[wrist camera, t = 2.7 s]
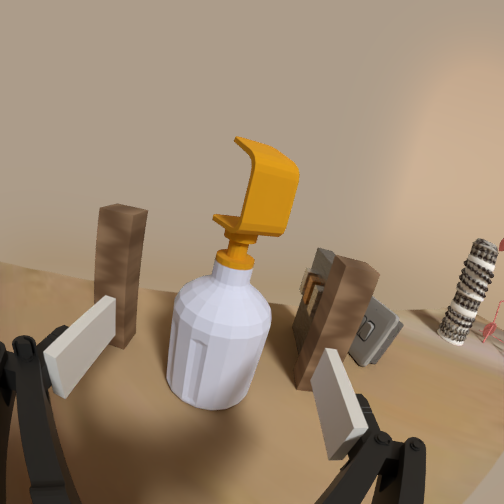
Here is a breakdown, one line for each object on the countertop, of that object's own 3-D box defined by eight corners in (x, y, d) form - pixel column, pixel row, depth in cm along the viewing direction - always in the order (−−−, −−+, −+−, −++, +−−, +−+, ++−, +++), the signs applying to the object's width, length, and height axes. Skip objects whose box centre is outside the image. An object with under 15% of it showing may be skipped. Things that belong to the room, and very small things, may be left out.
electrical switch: (333, 336, 45) (357, 289, 43) (355, 339, 46) (378, 294, 44) (360, 369, 36) (390, 316, 34) (382, 369, 38) (411, 320, 36)
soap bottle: (224, 350, 34) (275, 150, 27) (262, 400, 27) (343, 163, 20) (156, 359, 29) (192, 128, 22) (184, 420, 22) (245, 126, 15)
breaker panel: (293, 366, 34) (329, 269, 31) (285, 324, 46) (310, 245, 42) (318, 369, 35) (356, 276, 31) (305, 328, 46) (331, 251, 42)
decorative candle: (432, 333, 53) (470, 233, 47) (439, 325, 59) (473, 236, 53) (461, 350, 46) (503, 247, 40) (466, 340, 52) (502, 249, 46)
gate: (95, 339, 29) (99, 207, 25) (109, 324, 32) (117, 203, 28) (327, 392, 30) (380, 274, 26) (321, 373, 34) (366, 262, 30)
